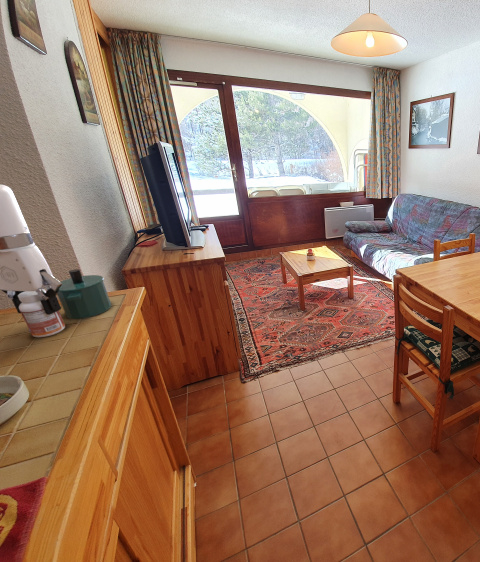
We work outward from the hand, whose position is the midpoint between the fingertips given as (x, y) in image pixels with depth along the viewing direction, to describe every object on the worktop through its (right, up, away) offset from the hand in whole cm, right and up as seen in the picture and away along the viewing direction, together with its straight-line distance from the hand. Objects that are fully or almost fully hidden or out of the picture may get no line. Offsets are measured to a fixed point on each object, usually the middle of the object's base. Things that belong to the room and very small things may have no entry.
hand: (40, 310), depth 77 cm
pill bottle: (0, -6, +2) cm, 6 cm away
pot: (0, -1, +13) cm, 13 cm away
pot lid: (+1, +7, +9) cm, 12 cm away
